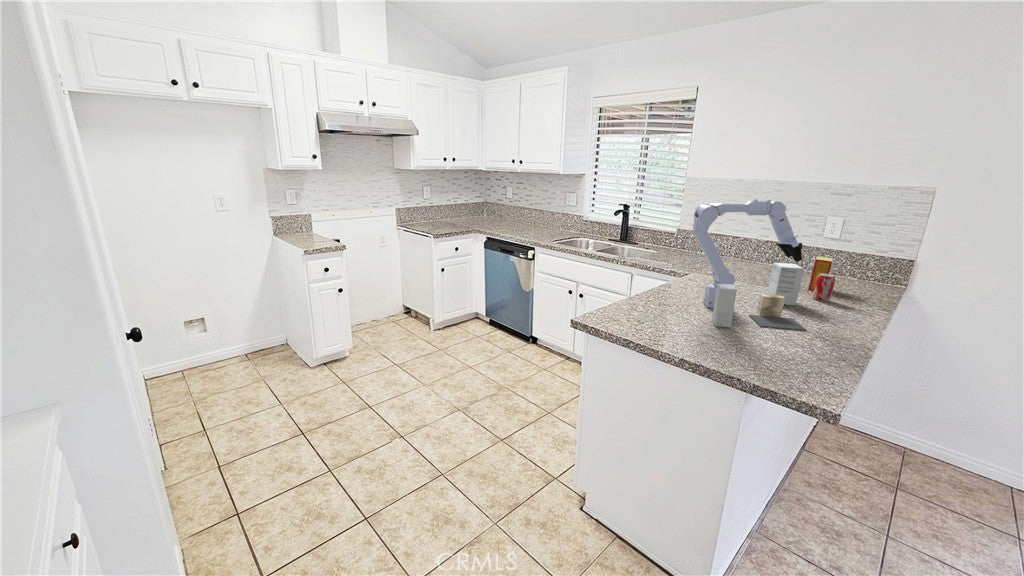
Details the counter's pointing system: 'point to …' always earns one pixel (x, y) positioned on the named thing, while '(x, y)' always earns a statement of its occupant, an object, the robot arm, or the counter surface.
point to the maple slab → (770, 305)
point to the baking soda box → (820, 269)
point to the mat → (777, 322)
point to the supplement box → (786, 281)
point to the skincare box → (724, 305)
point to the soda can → (823, 287)
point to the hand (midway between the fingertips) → (794, 258)
